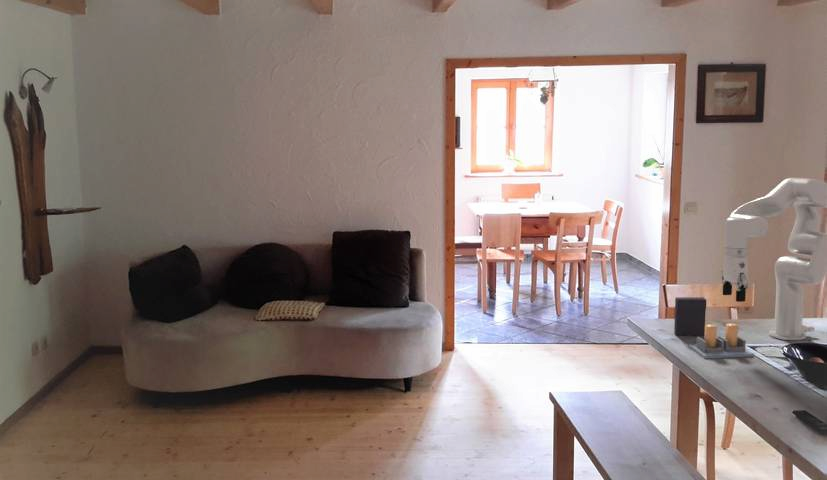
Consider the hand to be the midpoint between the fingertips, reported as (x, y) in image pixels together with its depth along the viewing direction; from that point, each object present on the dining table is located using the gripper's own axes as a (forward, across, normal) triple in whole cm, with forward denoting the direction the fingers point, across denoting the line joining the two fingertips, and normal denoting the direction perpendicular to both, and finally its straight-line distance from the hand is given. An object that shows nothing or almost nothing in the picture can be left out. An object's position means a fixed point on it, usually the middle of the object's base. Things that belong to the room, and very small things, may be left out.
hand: (733, 298), depth 254 cm
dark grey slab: (+20, +22, +6) cm, 31 cm away
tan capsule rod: (+19, 0, 0) cm, 19 cm away
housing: (+20, 0, +4) cm, 21 cm away
